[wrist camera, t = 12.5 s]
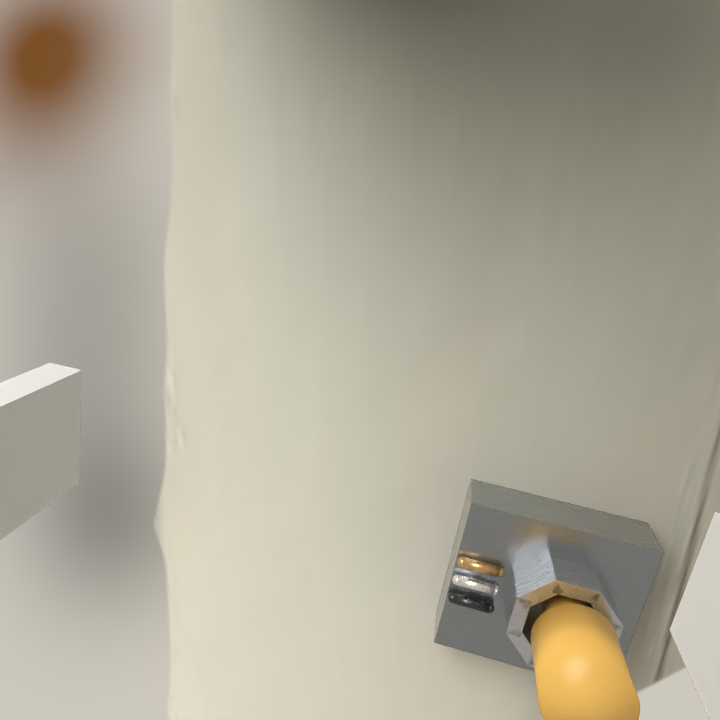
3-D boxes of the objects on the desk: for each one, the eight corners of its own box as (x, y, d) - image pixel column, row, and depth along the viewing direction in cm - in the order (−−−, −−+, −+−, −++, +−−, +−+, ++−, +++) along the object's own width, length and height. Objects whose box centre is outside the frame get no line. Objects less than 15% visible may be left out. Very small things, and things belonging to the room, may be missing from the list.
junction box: (436, 609, 44) (431, 669, 39) (471, 479, 41) (471, 522, 36) (599, 655, 43) (619, 724, 37) (648, 523, 40) (677, 576, 34)
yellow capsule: (518, 629, 40) (528, 728, 32) (537, 565, 38) (552, 653, 31) (594, 651, 39) (623, 757, 31) (616, 586, 38) (652, 681, 30)
